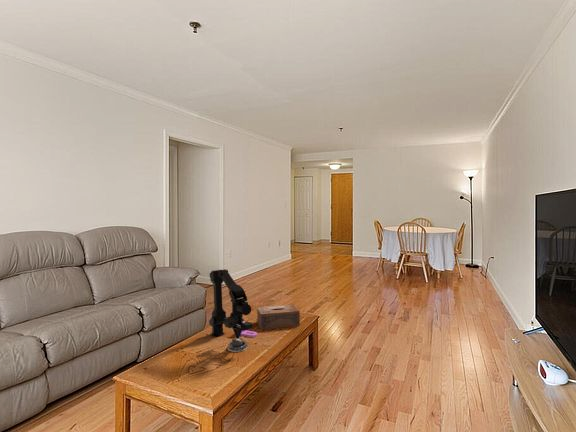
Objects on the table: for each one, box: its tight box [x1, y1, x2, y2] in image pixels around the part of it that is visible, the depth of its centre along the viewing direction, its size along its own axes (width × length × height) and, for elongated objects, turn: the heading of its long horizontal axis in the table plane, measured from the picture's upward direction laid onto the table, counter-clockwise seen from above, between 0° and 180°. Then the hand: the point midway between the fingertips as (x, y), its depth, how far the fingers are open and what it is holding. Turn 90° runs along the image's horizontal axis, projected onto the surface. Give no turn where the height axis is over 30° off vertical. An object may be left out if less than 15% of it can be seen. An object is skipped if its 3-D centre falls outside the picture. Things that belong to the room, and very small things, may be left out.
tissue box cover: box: [256, 304, 301, 330], centre depth 223 cm, size 26×14×10 cm, turn 105°
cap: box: [231, 337, 244, 347], centre depth 185 cm, size 6×6×4 cm
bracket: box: [240, 320, 258, 338], centre depth 204 cm, size 13×6×7 cm, turn 66°
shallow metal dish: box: [227, 340, 249, 353], centre depth 185 cm, size 11×11×2 cm
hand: (237, 338), depth 185 cm, fingers closed
